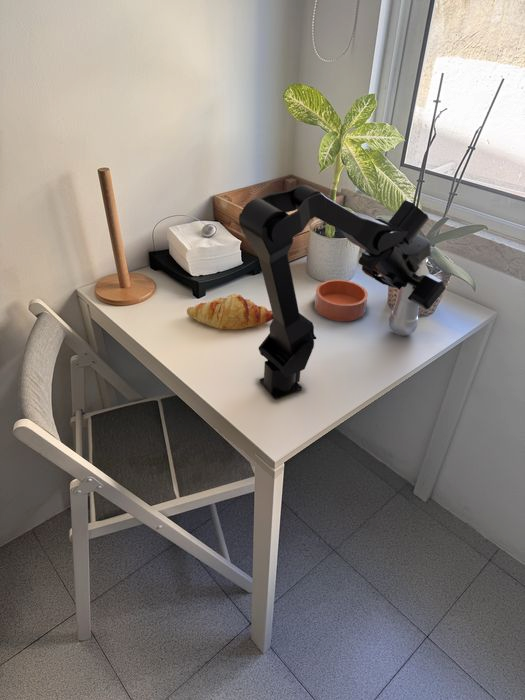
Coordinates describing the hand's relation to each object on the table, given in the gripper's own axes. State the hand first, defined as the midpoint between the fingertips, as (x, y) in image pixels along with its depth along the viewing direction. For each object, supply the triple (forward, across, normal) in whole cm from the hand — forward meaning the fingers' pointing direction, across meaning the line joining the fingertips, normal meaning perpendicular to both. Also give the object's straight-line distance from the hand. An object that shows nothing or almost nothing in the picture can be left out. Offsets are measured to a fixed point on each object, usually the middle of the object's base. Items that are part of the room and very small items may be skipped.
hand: (414, 293), depth 114 cm
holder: (+3, +16, +12) cm, 20 cm away
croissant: (-15, +26, +30) cm, 43 cm away
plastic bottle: (+6, 0, +8) cm, 10 cm away
